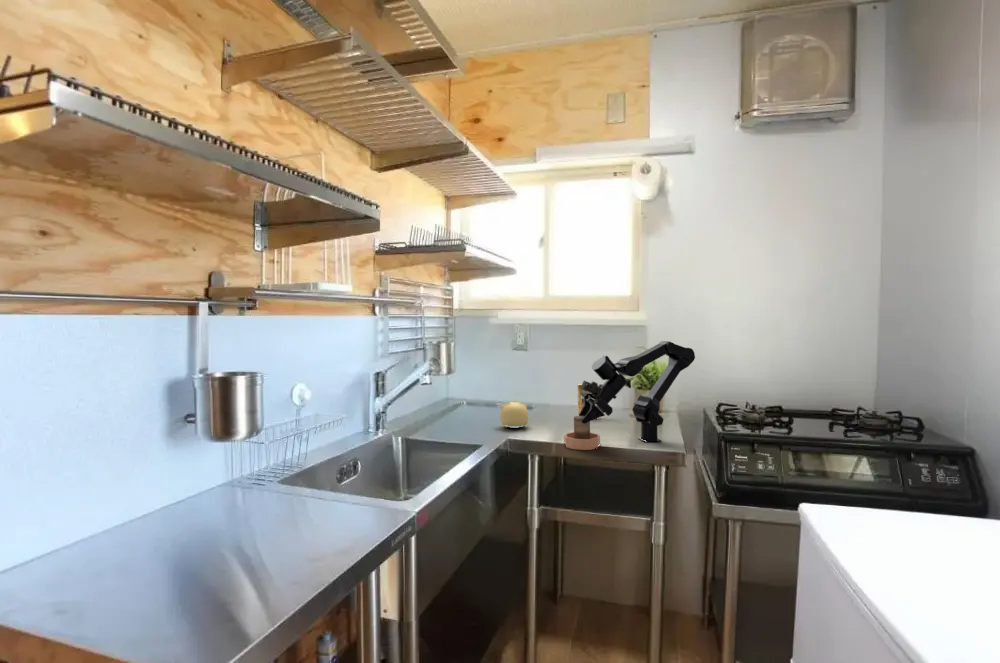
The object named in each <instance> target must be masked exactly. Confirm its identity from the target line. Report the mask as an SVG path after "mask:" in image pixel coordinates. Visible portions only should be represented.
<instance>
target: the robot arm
mask: <svg viewBox="0 0 1000 663" xmlns="http://www.w3.org/2000/svg"><path fill="white" fill-rule="evenodd" d="M665 355H666V356H667V357H668V364H667V366H666V368H665V369H664V370H663V371H662V373H661V374H660V376H659V378H658V379H657V380H656V381H655V383H654V384H653V386H652V387H651V389H650V390H649V392H648V394H646V395H638V398H637V399H636V401H635V402H634V403H633V407H632V411H633V412H632V413H633V415H634V417H635V421H636V422H637V423H640V431H641V433H640V437H641V439H643V440H646V441H661V442H662V439H660V438H659V437H658V436H659V434H658V428H659V427H660V426H662V425H663V423H664V418H663V416H662V415H661V414H659V411H660V409H661V408H660V407H661V401H662V399H663V398H664V397H665V395H666V393H668V391H669V390H670V387H671V386H672V385H673V383H674V381H675V380H676V378H677V377H678V375H679V374H680V372H681V371H683V370H685V369H687V368H689V367H690V366H691V364H692V363H693V362H694V361H695V359H696V355H695V351H694V350H693V348H691V347H684V346H681V345H678V344H676V343H674V342H672V341H667V340H666V341H665V340H664V341H663V340H662V341H660V342H659V343H657V344H656V345H654V346H652V347H650V348H649V349H646V350H644V351H642V352H640V353H639V354H637V355H633V356H628V357H625V358H622V359H619V360H618V361H617V362H615V363H614V362H613V361H612V360H611V359H610V357H609V356H608V355H602V357H600V358H598V359H596V360H595V361H594V362H593V363H592V364H591V369H592V370H593V371H594V373H595V374H596V375H597V376H598V377H599V378H600V379H601V380H602V381H605V382H604V383H603V384H601V383H600V384H599V383H598V382H596V381H593V380H592V381H591V382H589V381H586V380H583V381H582V383H581V384H582V386H581V388H580V389H582V390H585V391H588V392H585V393H584V394H583V395H582V397H583V400H584V406H583V408H582V410H581V412H580V414H579V416H585V417H584V418H583V420H582V423H587V422H589V421H590V422H591V421H594V420H597V419H596V418H598V419H599V418H602V417H605V416H608V417H610V416H611V414H613V407H612V406H611V405H610V404H609V403H610V402H611V401H612V400H616V398H617V395H618V394H619V392H620V391H621V390H622V389H623V388H624V387H627V388H628V389H631V388H632V384H631V383H632V382H631V381H632V380H631V379H629V378H626V377H636V376H637V375H638V374H639V373H641V372H642V370H643V369H644V367H645V366H647V365H648V364H650V363H652V362H654V361H656V360H657V359H660V358H661V357H664V356H665ZM589 392H591V393H589ZM658 426H659V427H658Z"/></svg>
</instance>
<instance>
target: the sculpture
mask: <svg viewBox="0 0 1000 663" xmlns="http://www.w3.org/2000/svg"><path fill="white" fill-rule="evenodd" d="M499 413H500V421H501V424H502V426H503V425H508V426H522V425H526V424H528V423H529V419H530V418H529V411H528V404H526V403H523V402H520V401H511V402H506V403H503V404H501V405H500V412H499ZM526 426H527V425H526Z"/></svg>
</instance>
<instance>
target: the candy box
mask: <svg viewBox="0 0 1000 663" xmlns="http://www.w3.org/2000/svg"><path fill="white" fill-rule="evenodd" d="M582 384H583V383H577V416H578V415H579V414H580V412H581V410H582V408H583V406H584V400H583V397H582V395H583V394H584V393H585V392H588V391H585V390H582V389H580V388H581V386H582ZM589 393H591V392H589Z"/></svg>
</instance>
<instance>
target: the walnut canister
mask: <svg viewBox="0 0 1000 663" xmlns="http://www.w3.org/2000/svg"><path fill="white" fill-rule="evenodd" d="M584 417H585V416H578V415H574V416H573V432H574V438H575V439H590V432H591V421H589V422H587V423H582V420H583V418H584Z"/></svg>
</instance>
